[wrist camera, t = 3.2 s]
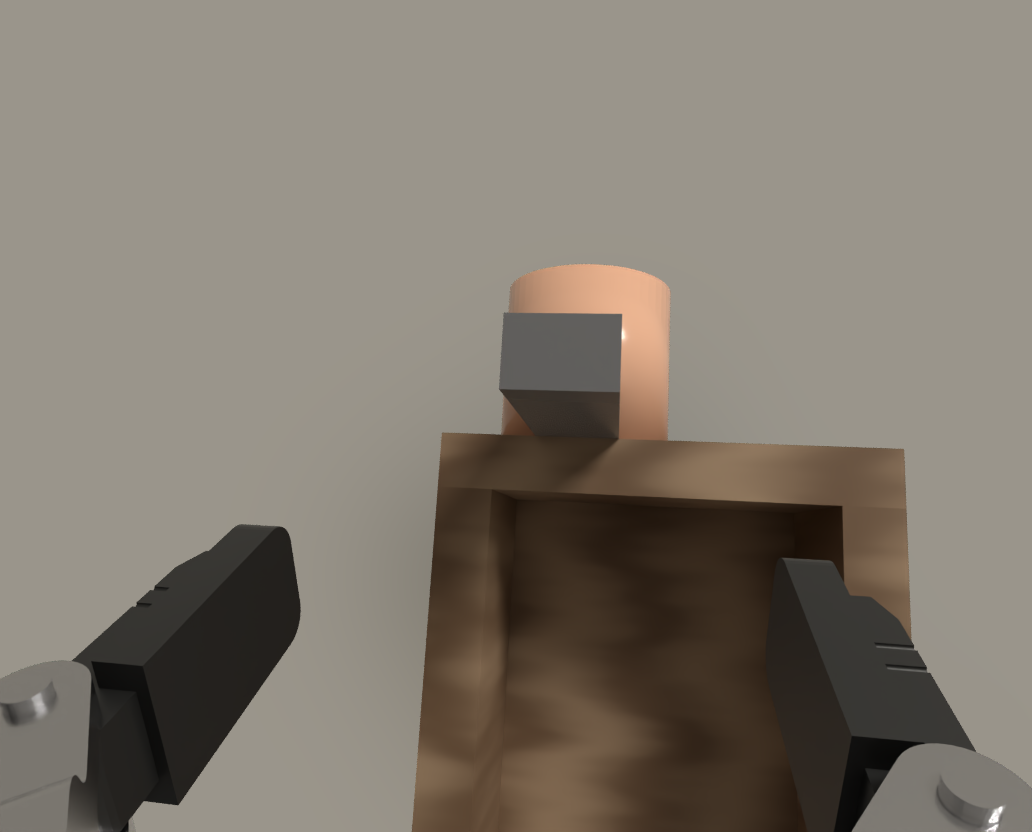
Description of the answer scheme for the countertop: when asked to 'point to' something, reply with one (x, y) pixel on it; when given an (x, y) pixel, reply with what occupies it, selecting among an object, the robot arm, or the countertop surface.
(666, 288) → the peach cylinder
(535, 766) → the stand
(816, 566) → the robot arm
